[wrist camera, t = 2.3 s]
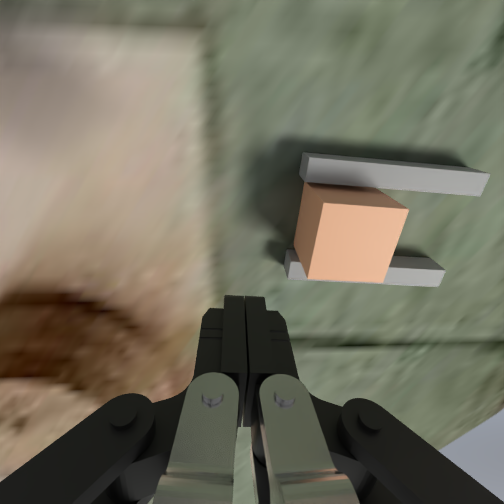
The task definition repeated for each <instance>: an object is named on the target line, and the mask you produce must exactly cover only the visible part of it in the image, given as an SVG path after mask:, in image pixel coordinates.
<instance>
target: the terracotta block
mask: <svg viewBox="0 0 504 504" xmlns="http://www.w3.org/2000/svg"><path fill="white" fill-rule="evenodd" d="M408 211H409V209H408V208H406V207H405V206H403V205H401V204H400V203H398V202H397V201H395V200H394V199H392V198H390V197H389V196H387V195H386V194H384V193H382V192H381V191H379V190H378V189H376V188H373V187H361V186H349V185H337V184H325V183H313V182H304V188H303V194H302V199H301V205H300V211H299V216H298V222H297V228H296V233H295V239H294V244H293V245H294V247H295V250H296V252H297V255H298V257H299V260H300V262H301V264H302V267H303V269H304V272H305V274H306V277H307V279H317V280H336V281H356V282H375V283H383V281H384V279H385V276H386V273H387V270H388V267H389V265H390V262H391V259H392V256H393V253H394V251H395V248H396V245H397V242H398V239H399V237H400V234H401V231H402V228H403V225H404V222H405V220H406V217H407V214H408Z"/></svg>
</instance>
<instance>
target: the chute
mask: <svg viewBox="0 0 504 504" xmlns="http://www.w3.org/2000/svg"><path fill="white" fill-rule="evenodd" d="M299 175H300V176H301V178H302V179H303V180H304V181H305V182H313V183H325V184H337V185H349V186H361V187H373V188H385V189H397V190H409V191H421V192H433V193H445V194H457V195H470V196H481V194H482V192H483V189H484V187H485V185H486V183H487V181H488V179H489V176H490V173H486V172H483V171H479V170H476V169H472V168H469V167H459V166H448V165H437V164H426V163H415V162H405V161H394V160H383V159H372V158H361V157H350V156H340V155H329V154H318V153H307V152H303V153H302V159H301V165H300V171H299ZM284 268H285V272H286V275H287V278H288V279H293V280H312V281H332V282H351V283H371V284H390V285H409V286H429V287H439V285H440V283H441V280H442V278H443V276H444V274H445V272H446V270H445V269H443V268H442V267H441V266H440V265H439V264H437V263H436V262H435V261H434V260H432V259H431V258H423V257H407V256H392V259H391V262H390V265H389V267H388V270H387V273H386V276H385V279H384V281H383V283H375V282H356V281H336V280H317V279H307V277H306V274H305V272H304V269H303V267H302V264H301V262H300V260H299V257H298V255H297V252H296V250H292V249H286V255H285V261H284Z"/></svg>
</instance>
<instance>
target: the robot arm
mask: <svg viewBox="0 0 504 504" xmlns="http://www.w3.org/2000/svg"><path fill="white" fill-rule="evenodd" d="M242 413H243V427H251V438H252V442H251V449H250V460H251V468H252V477H253V486H254V494H255V503H256V504H504V502H503V501H502V500H500V499H499V498H498V497H496V496H495V495H494V494H492V493H491V492H490V491H489V490H487V489H486V488H485V487H484V486H482V485H481V484H480V483H479V482H477V481H476V480H475V479H473V478H472V477H471V476H470V475H468V474H467V473H466V472H464V471H463V470H462V469H461V468H459V467H458V466H456V465H455V464H454V463H453V462H451V461H450V460H449V459H448V458H446V457H445V456H444V455H443V454H441V453H440V452H439V451H437V450H436V449H435V448H434V447H432V446H431V445H430V444H429V443H427V442H426V441H425V440H423V439H422V438H421V437H420V436H418V435H417V434H416V433H414V432H413V431H412V430H411V429H409V428H408V427H407V426H405V425H404V424H403V423H402V422H400V421H399V420H398V419H396V418H395V417H394V416H393V415H391V414H390V413H389V412H388V411H386V410H385V409H384V408H382V407H381V406H380V405H378V404H376V403H375V402H373V401H370V400H367V399H362V398H355V399H351V400H349V401H347V402H346V403H345V404H344V406H343V407H341V406H338V405H335V404H332V403H329V402H326V401H323V400H320V399H318V398H316V397H315V396H313V395H312V394H310V393H309V392H308V390H307V388H306V387H305V385H304V384H303V383H302V382H301V381H300V380H299V377H298V373H297V368H296V364H295V360H294V356H293V351H292V347H291V343H290V339H289V334H288V330H287V326H286V322H285V319H284V318H283V317H282V316H281V315H280V313H279V312H278V311H268V310H266V304H265V298H264V297H256V296H245V298H244V296H233V295H225V296H224V309H220V308H209V309H208V311H207V312H206V313H205V314H204V316H203V317H202V323H201V330H200V337H199V343H198V350H197V357H196V364H195V370H194V376H193V379H192V381H191V383H190V384H189V386H188V387H187V388H186V389H185V390H184V391H183V392H181V393H180V394H178V395H176V396H174V397H172V398H169V399H166V400H162V401H158V402H155V403H152V402H151V401H150V400H149V399H148V398H147V397H145V396H143V395H141V394H135V393H130V394H124V395H120V396H117V397H115V398H113V399H111V400H110V401H108V402H107V403H106V404H104V405H103V406H102V407H100V408H99V409H98V410H96V411H95V412H93V413H92V414H91V415H89V416H88V417H87V418H85V419H84V420H83V421H81V422H80V423H79V424H77V425H76V426H75V427H73V428H72V429H71V430H69V431H68V432H67V433H65V434H64V435H63V436H61V437H60V438H59V439H57V440H56V441H55V442H53V443H52V444H51V445H49V446H48V447H47V448H45V449H44V450H43V451H41V452H40V453H39V454H37V455H36V456H35V457H33V458H32V459H31V460H29V461H28V462H27V463H25V464H24V465H23V466H21V467H20V468H19V469H17V470H16V471H14V472H13V473H12V474H10V475H9V476H8V477H6V478H5V479H4V480H2V481H1V482H0V504H147V503H148V502H149V501H150V500H151V498H152V497H153V496H154V494H155V496H154V500H153V504H232V500H233V482H234V479H233V473H234V458H235V446H236V437H237V429H238V427H241V421H242Z"/></svg>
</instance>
